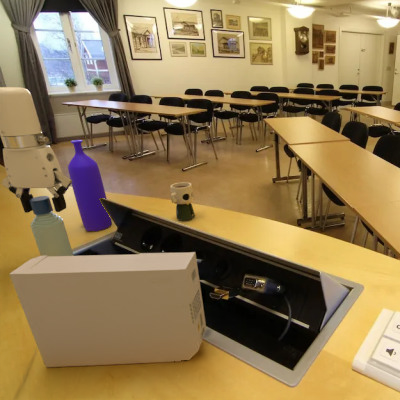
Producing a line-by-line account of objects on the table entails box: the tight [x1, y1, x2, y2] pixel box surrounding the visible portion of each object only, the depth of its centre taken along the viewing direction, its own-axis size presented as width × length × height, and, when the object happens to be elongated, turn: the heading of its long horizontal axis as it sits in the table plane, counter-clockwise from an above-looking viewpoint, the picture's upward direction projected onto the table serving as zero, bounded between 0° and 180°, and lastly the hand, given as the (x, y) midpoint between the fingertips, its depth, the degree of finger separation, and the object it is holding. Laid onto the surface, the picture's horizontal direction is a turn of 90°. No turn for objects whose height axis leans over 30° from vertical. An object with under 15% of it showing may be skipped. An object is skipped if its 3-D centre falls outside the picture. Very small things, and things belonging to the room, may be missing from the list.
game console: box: [9, 251, 207, 368], centre depth 58 cm, size 6×27×20 cm, turn 94°
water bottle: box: [30, 211, 75, 256], centre depth 85 cm, size 7×7×19 cm
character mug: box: [169, 181, 196, 221], centre depth 117 cm, size 11×7×13 cm, turn 163°
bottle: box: [67, 139, 112, 232], centre depth 106 cm, size 8×8×30 cm
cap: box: [29, 195, 54, 216], centre depth 82 cm, size 4×4×4 cm
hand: (46, 209), depth 83 cm, fingers open, 6 cm apart
